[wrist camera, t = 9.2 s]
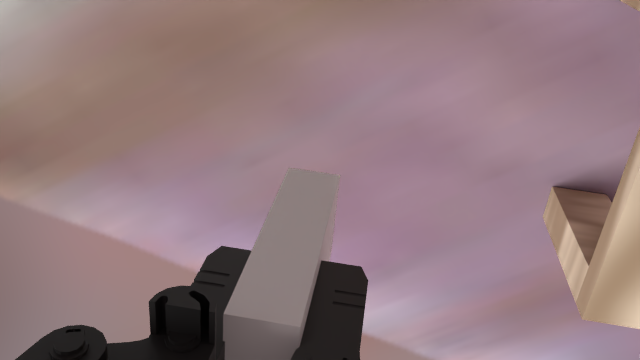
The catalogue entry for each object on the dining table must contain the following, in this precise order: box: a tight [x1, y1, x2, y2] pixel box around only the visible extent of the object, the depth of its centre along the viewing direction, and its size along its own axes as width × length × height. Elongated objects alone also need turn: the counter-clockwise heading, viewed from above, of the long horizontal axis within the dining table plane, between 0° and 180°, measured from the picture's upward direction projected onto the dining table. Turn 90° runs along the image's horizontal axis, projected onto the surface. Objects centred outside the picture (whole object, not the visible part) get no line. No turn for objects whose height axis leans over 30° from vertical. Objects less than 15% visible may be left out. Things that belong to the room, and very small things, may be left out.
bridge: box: [543, 0, 640, 329], centre depth 27 cm, size 3×14×9 cm, turn 175°
